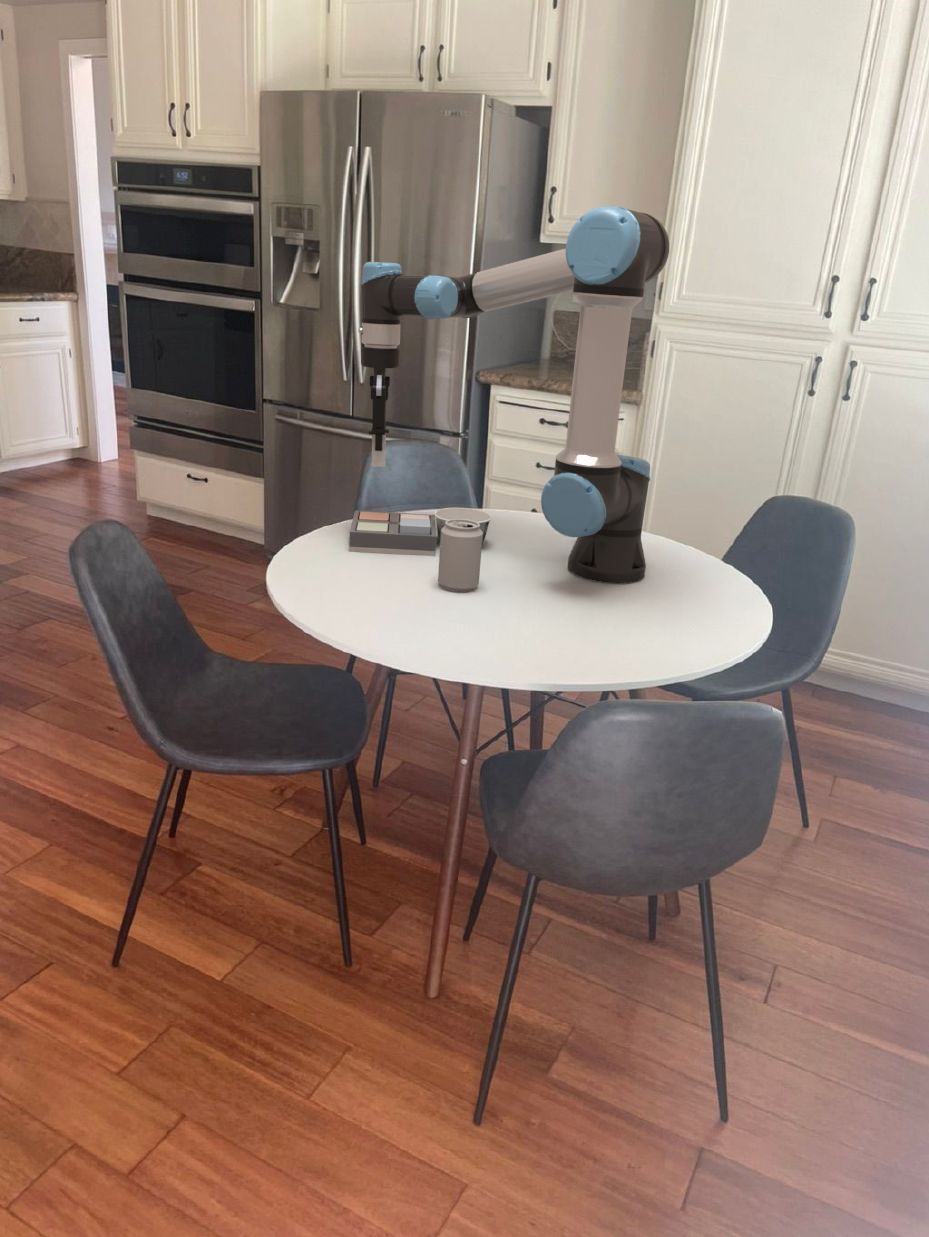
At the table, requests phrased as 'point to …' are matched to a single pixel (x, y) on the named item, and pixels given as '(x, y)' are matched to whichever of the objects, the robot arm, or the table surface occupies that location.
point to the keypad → (392, 538)
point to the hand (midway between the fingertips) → (378, 465)
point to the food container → (462, 513)
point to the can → (460, 555)
